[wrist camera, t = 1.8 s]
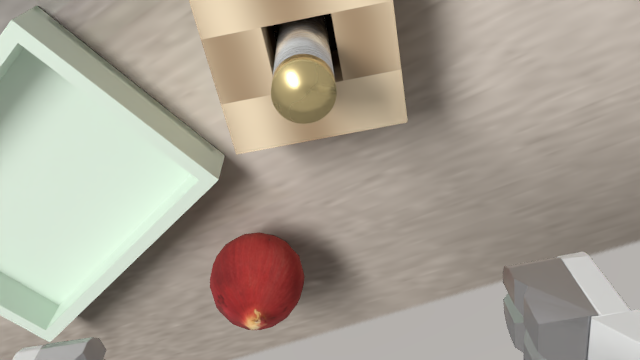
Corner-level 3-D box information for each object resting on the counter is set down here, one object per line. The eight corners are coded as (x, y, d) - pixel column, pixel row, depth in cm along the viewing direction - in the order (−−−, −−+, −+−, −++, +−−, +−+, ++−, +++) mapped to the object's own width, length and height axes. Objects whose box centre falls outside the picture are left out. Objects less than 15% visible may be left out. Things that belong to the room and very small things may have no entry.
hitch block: (371, -79, 28) (384, -67, 23) (393, 87, 32) (407, 122, 28) (199, -42, 28) (181, -24, 24) (244, 115, 33) (236, 154, 28)
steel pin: (321, -2, 29) (330, 55, 21) (329, 45, 31) (341, 117, 22) (274, 8, 30) (263, 68, 21) (285, 54, 31) (279, 129, 22)
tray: (36, 5, 29) (11, 19, 27) (224, 155, 34) (218, 180, 32) (-112, 208, 35) (-145, 236, 33) (66, 311, 40) (49, 342, 38)
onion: (274, 288, 40) (269, 378, 33) (203, 254, 38) (182, 342, 31) (318, 232, 37) (323, 317, 30) (244, 194, 36) (231, 275, 29)
